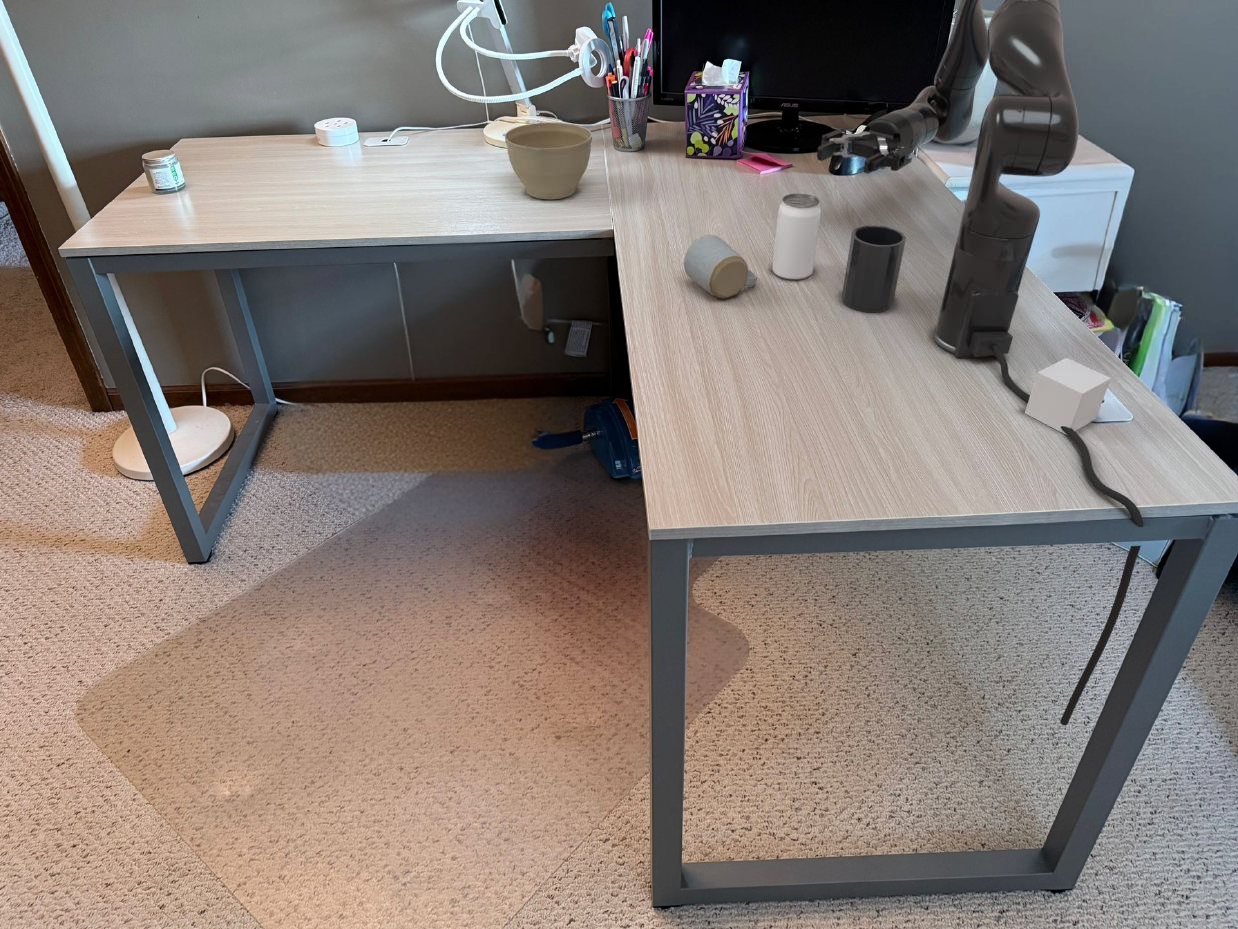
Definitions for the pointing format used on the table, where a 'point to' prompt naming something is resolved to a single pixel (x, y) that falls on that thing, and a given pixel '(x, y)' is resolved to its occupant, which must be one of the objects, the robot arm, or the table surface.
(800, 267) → the can
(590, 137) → the planter bowl
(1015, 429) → the table surface
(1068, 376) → the white cube
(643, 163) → the table surface
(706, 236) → the ceramic mug
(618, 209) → the table surface
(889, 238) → the pen cup
